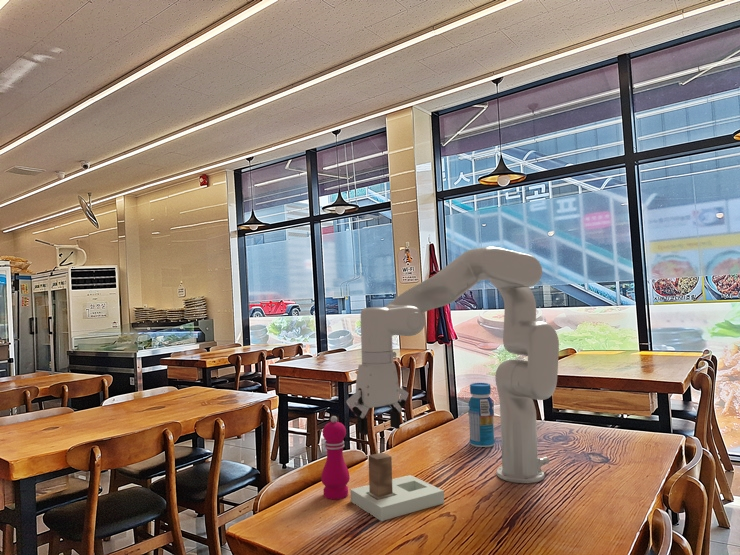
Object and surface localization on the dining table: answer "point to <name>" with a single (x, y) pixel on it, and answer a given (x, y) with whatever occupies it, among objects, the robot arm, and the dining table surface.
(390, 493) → the peg
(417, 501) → the board
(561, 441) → the dining table surface
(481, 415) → the beverage bottle
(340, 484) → the pepper mill
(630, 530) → the dining table surface
